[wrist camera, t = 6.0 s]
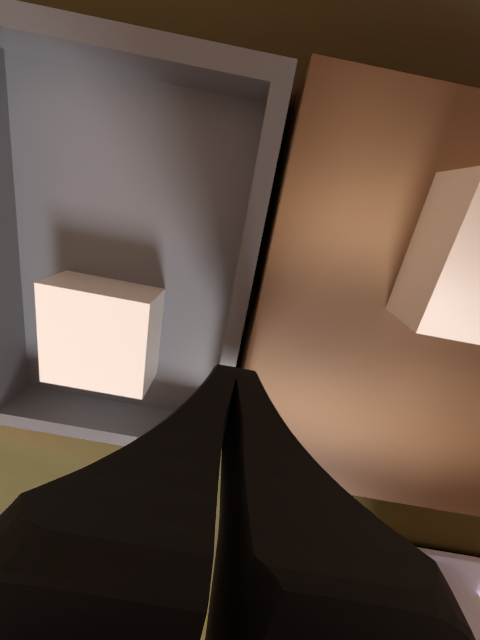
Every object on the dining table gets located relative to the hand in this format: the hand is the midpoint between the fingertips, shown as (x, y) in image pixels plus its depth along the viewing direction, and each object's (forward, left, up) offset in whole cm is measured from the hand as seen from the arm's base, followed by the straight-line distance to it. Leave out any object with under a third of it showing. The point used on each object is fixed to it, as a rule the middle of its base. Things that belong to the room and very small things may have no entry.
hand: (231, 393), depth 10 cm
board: (+2, -7, -4) cm, 8 cm away
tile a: (0, +5, -2) cm, 6 cm away
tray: (+2, +5, -4) cm, 7 cm away
